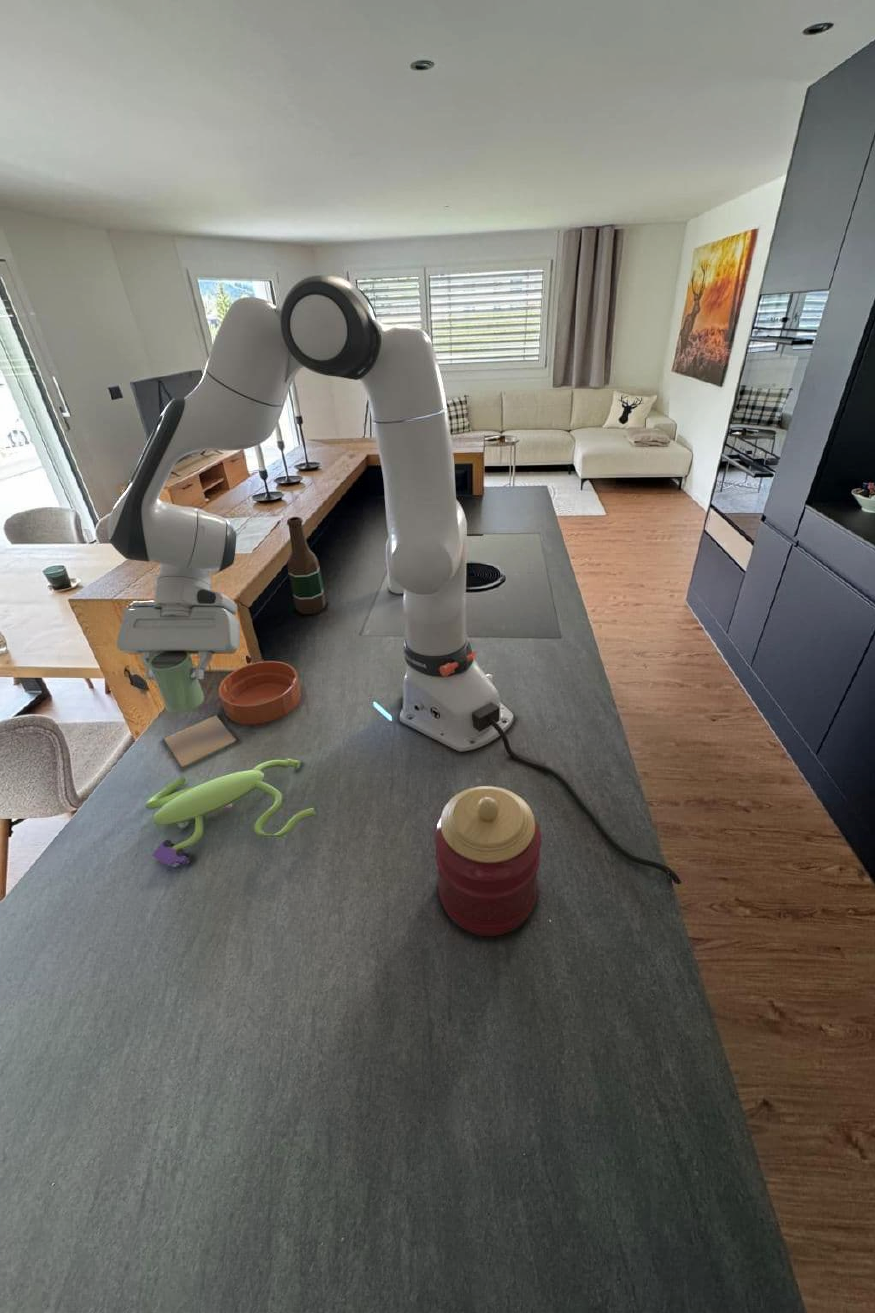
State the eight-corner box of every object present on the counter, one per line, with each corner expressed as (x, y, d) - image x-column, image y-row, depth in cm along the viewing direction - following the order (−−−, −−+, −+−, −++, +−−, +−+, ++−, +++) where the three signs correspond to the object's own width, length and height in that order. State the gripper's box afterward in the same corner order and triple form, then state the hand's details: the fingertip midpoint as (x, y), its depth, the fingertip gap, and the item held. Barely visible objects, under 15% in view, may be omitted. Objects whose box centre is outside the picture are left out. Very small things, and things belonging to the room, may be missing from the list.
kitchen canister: (476, 836, 82) (475, 747, 72) (554, 884, 75) (564, 792, 65) (418, 900, 74) (408, 809, 64) (500, 960, 67) (503, 869, 57)
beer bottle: (290, 612, 143) (270, 522, 130) (307, 599, 149) (289, 511, 136) (316, 617, 140) (298, 525, 127) (332, 603, 146) (317, 514, 133)
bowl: (315, 703, 110) (311, 683, 108) (244, 737, 103) (237, 717, 100) (281, 672, 120) (276, 652, 118) (213, 701, 113) (206, 681, 110)
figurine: (318, 850, 81) (312, 825, 78) (126, 884, 78) (111, 859, 75) (318, 763, 96) (313, 738, 93) (157, 788, 93) (146, 763, 90)
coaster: (237, 743, 102) (236, 740, 101) (182, 769, 96) (181, 767, 96) (216, 717, 108) (215, 715, 108) (164, 741, 103) (163, 738, 103)
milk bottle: (413, 595, 148) (408, 523, 137) (386, 594, 149) (378, 522, 138) (420, 582, 154) (415, 512, 143) (393, 581, 155) (386, 511, 144)
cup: (209, 702, 97) (195, 659, 92) (172, 718, 93) (155, 674, 88) (196, 686, 101) (181, 644, 96) (160, 701, 98) (143, 658, 93)
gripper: (113, 596, 94) (103, 676, 91) (231, 594, 93) (224, 676, 90) (136, 606, 100) (127, 682, 97) (246, 605, 99) (240, 682, 96)
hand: (174, 679), depth 94 cm, fingers closed on cup, 6 cm apart
